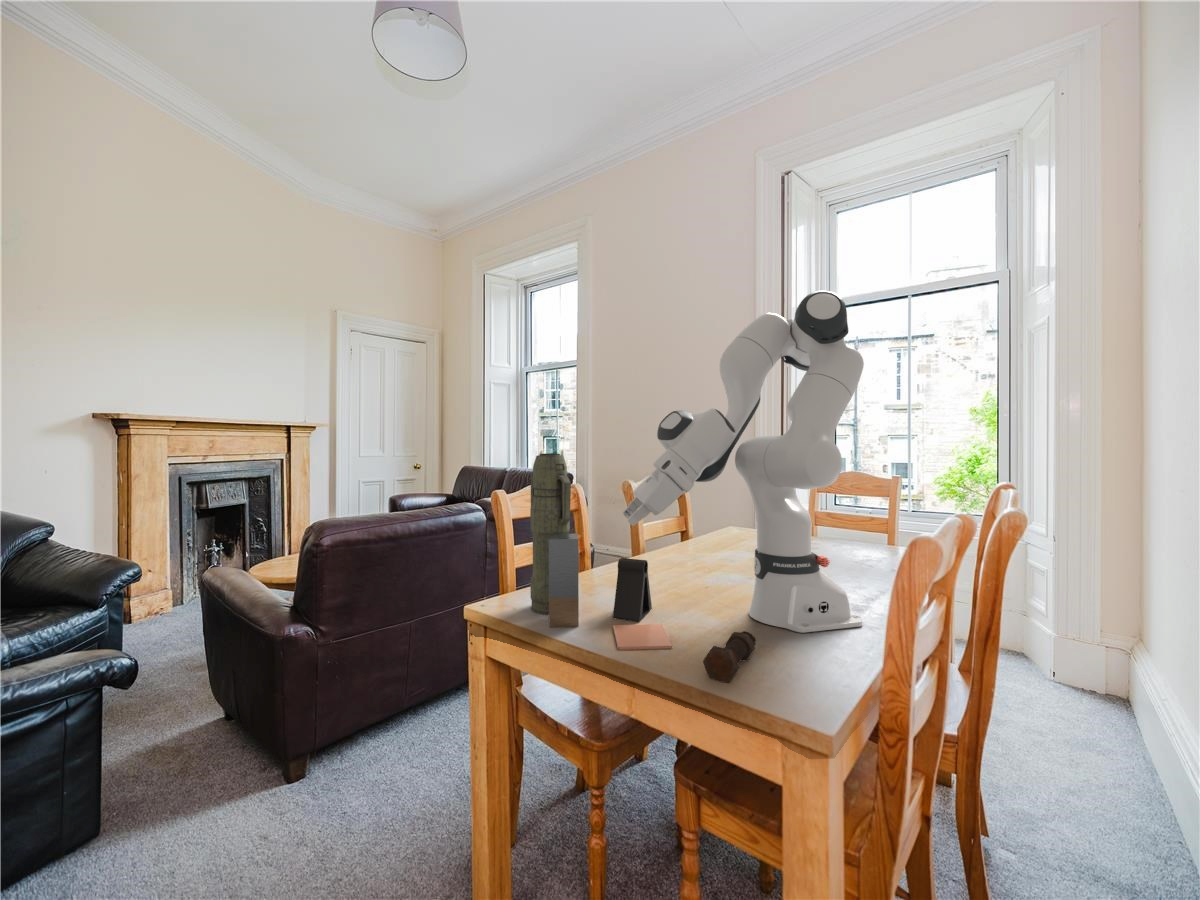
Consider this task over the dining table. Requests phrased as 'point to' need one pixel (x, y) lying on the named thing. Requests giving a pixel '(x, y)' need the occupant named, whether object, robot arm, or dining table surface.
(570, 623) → the rectangular metal block
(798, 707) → the dining table surface
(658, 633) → the terracotta tile
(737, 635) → the bolt
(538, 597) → the thermos
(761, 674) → the dining table surface
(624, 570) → the black folding stand
